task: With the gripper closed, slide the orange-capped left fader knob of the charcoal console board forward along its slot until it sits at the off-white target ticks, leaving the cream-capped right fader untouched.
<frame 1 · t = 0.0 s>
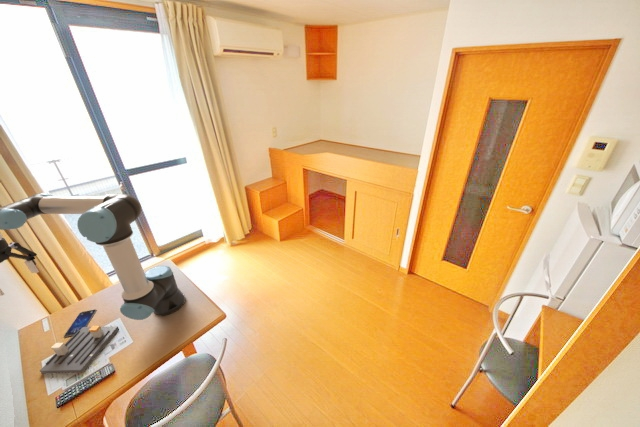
hand: (18, 283, 102), 28 cm above the table, fingers open, 13 cm apart
fader b: (60, 349, 100), point 5 cm above the table, slide at 3.0 cm
smartphone: (81, 323, 117), on the table
console: (83, 349, 105), on the table
fader a: (96, 331, 107), point 5 cm above the table, slide at -5.0 cm
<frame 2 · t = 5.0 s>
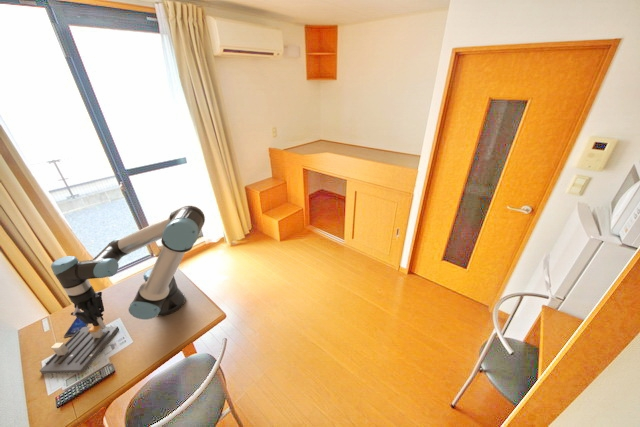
hand: (101, 328, 110), 4 cm above the table, fingers closed
fader a: (96, 332, 107), point 5 cm above the table, slide at -4.8 cm, touching gripper
everything else where it was.
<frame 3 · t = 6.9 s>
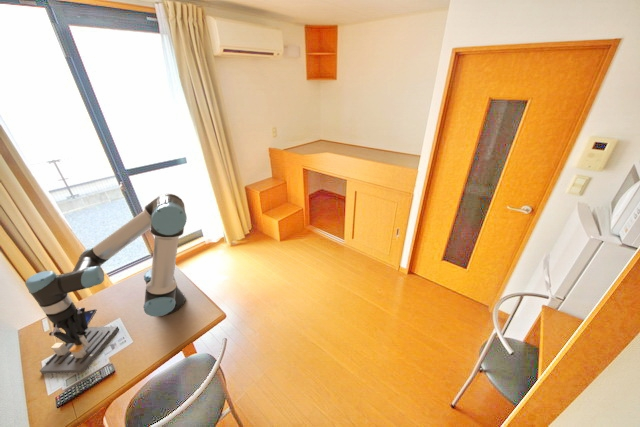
hand: (85, 346, 102), 4 cm above the table, fingers closed
fader a: (78, 351, 99), point 5 cm above the table, slide at 4.3 cm
everything else where it was.
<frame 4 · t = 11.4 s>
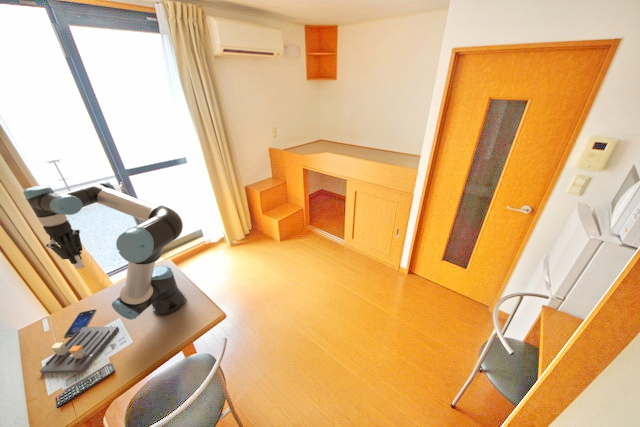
hand: (80, 267, 109), 29 cm above the table, fingers closed
nothing on the table moved.
at the end: fader a slide at 4.5 cm; fader b slide at 3.0 cm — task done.
